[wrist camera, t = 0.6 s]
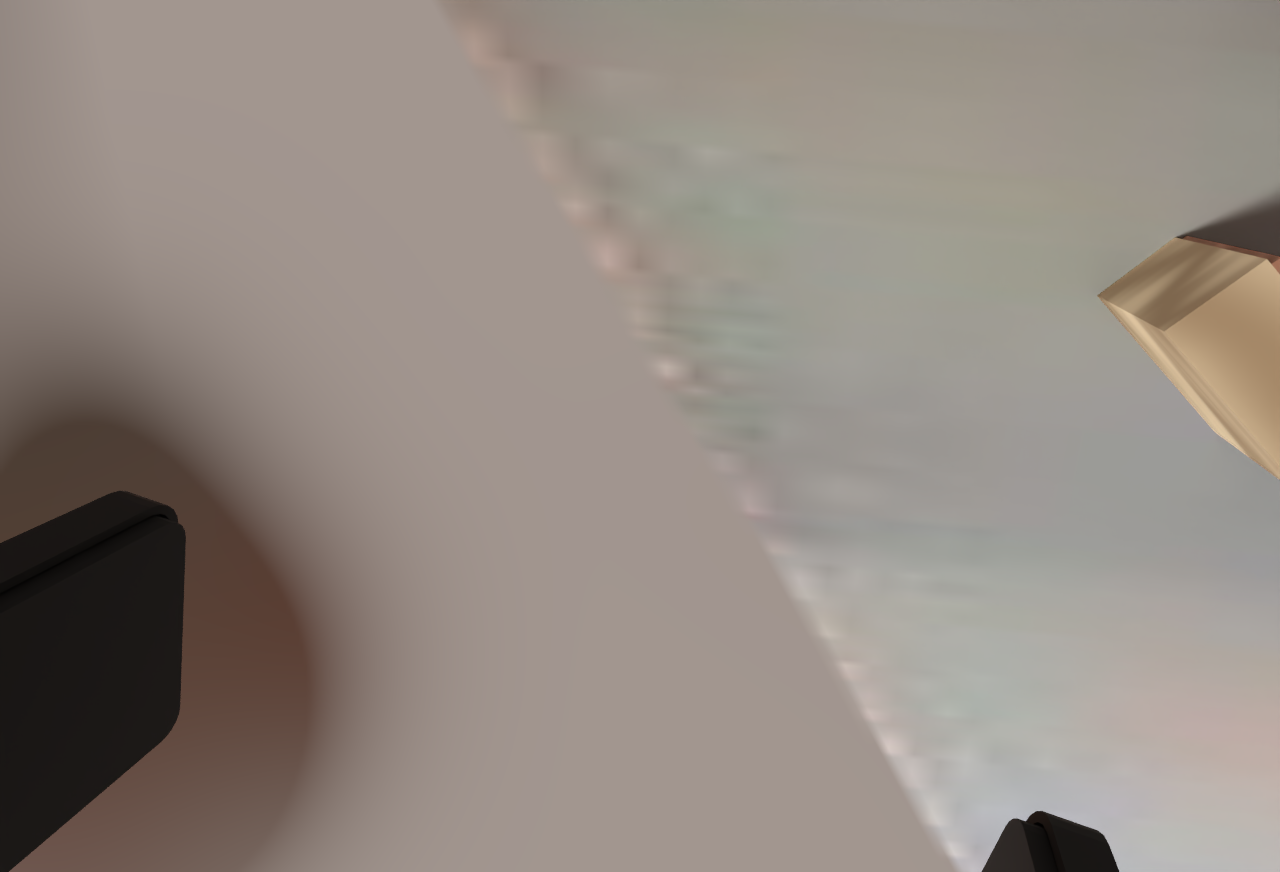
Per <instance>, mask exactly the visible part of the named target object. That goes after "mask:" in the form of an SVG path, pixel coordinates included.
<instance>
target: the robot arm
mask: <svg viewBox="0 0 1280 872" xmlns="http://www.w3.org/2000/svg"><path fill="white" fill-rule="evenodd" d="M185 542H186V536H185V530H184V529H183V526H182V525H180V524H178V519H177V515H176V513H175V511H174V509H172V508H171V507H169V506H167V505H164V504H162V503H159V502H156V501H153V500H150V499H147V498H144V497H141V496H138V495H136V494H133V493H130V492H126V491H117V492H114V493H110V494H108V495H106V496H103V497H101V498H99V499H97V500H94V501H92V502H90V503H88V504H86V505H84V506H81V507H79V508H77V509H75V510H72V511H70V512H68V513H66V514H64V515H62V516H59V517H57V518H55V519H53V520H50V521H48V522H46V523H44V524H42V525H40V526H37V527H35V528H33V529H31V530H28V531H26V532H24V533H22V534H20V535H17V536H15V537H13V538H11V539H9V540H6V541H4V542H2V543H0V872H9V871H10V870H11V869H12V868H13V867H15V866H16V865H17V864H18V863H19V862H21V861H22V860H23V859H24V858H25V857H26V856H28V855H29V854H30V853H31V852H32V851H33V850H35V849H36V848H37V847H38V846H39V845H41V844H42V843H43V842H44V841H45V840H46V839H48V838H49V837H50V836H51V835H52V834H53V833H55V832H56V831H57V830H58V829H59V828H60V827H62V826H63V825H64V824H65V823H66V822H68V821H69V820H70V819H71V818H72V817H73V816H75V815H76V814H77V813H78V812H79V811H80V810H82V809H83V808H84V807H85V806H86V805H88V804H89V803H90V802H91V801H92V800H93V799H94V798H96V797H97V796H98V795H99V794H100V793H102V792H103V791H104V790H105V789H106V788H107V787H109V786H110V785H111V784H112V783H113V782H115V781H116V780H117V779H118V778H119V777H120V776H121V775H123V774H124V773H125V772H126V771H127V770H129V769H130V768H131V767H132V766H133V765H134V764H136V763H137V762H138V761H139V760H140V759H141V758H143V757H144V756H145V755H146V754H147V753H148V752H150V751H151V750H152V749H153V748H154V747H156V746H157V745H158V744H159V743H160V742H161V741H162V740H163V739H164V738H165V737H166V736H167V735H168V734H169V732H170V731H171V729H172V728H173V726H174V724H175V722H176V720H177V717H178V715H179V710H180V691H181V662H182V632H183V602H184V572H185V571H184V570H185ZM982 872H1119V870H1118V867H1117V865H1116V862H1115V859H1114V857H1113V854H1112V852H1111V849H1110V846H1109V844H1108V842H1107V840H1106V839H1105V837H1104V835H1103V834H1101V833H1100V832H1099V831H1097V830H1094V829H1092V828H1089V827H1086V826H1083V825H1080V824H1077V823H1074V822H1072V821H1069V820H1066V819H1063V818H1060V817H1057V816H1054V815H1052V814H1049V813H1046V812H1043V811H1036V812H1034V813H1033V814H1032V815H1030V817H1029V818H1028V819H1027V821H1023V820H1020V819H1012V820H1011V821H1009V822H1008V824H1007V825H1006V827H1005V829H1004V830H1003V832H1002V834H1001V836H1000V838H999V840H998V842H997V844H996V846H995V848H994V849H993V851H992V853H991V855H990V857H989V859H988V861H987V863H986V865H985V867H984V868H983V870H982Z"/></svg>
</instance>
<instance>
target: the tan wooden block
mask: <svg viewBox="0 0 1280 872" xmlns="http://www.w3.org/2000/svg"><path fill="white" fill-rule="evenodd" d="M1097 296H1098V297H1099V298H1100V299H1101V301H1102V302H1103V303H1104V304H1105V305H1106V306H1107V308H1108V309H1109V310H1110V311H1111V312H1112V313H1113V315H1114V316H1115V317H1116V318H1117V319H1118V320H1119V322H1120V323H1121V324H1122V325H1123V326H1124V327H1125V328H1126V330H1127V331H1128V332H1129V333H1130V334H1131V335H1132V337H1133V338H1134V339H1135V340H1136V341H1137V342H1138V344H1139V345H1140V346H1141V347H1142V348H1143V349H1144V350H1145V352H1146V353H1147V354H1148V355H1149V356H1150V357H1151V359H1152V360H1153V361H1154V362H1155V363H1156V364H1157V366H1158V367H1159V368H1160V369H1161V370H1162V371H1163V373H1164V374H1165V375H1166V376H1167V377H1168V378H1169V379H1170V381H1171V382H1172V383H1173V384H1174V385H1175V386H1176V388H1177V389H1178V390H1179V391H1180V392H1181V393H1182V395H1183V396H1184V397H1185V398H1186V399H1187V400H1188V402H1189V403H1190V404H1191V405H1192V406H1193V407H1194V408H1195V410H1196V411H1197V412H1198V413H1199V414H1200V415H1201V417H1202V418H1203V419H1204V420H1205V421H1206V422H1207V424H1208V425H1209V426H1210V427H1211V428H1212V429H1213V431H1214V432H1215V433H1217V434H1218V435H1219V436H1221V437H1222V438H1224V439H1225V440H1226V441H1228V442H1229V443H1230V444H1232V445H1233V446H1234V447H1236V448H1237V449H1239V450H1240V451H1241V452H1243V453H1244V454H1245V455H1247V456H1248V457H1249V458H1251V459H1252V460H1253V461H1255V462H1256V463H1258V464H1259V465H1260V466H1262V467H1263V468H1264V469H1266V470H1267V471H1268V472H1270V473H1271V474H1273V475H1274V476H1275V477H1277V478H1278V479H1279V480H1280V256H1276V255H1271V254H1267V253H1262V252H1258V251H1253V250H1249V249H1244V248H1240V247H1235V246H1231V245H1226V244H1222V243H1217V242H1213V241H1208V240H1204V239H1199V238H1195V237H1190V236H1185V237H1184V238H1183V239H1180V238H1174V239H1172V240H1171V241H1170V242H1168V243H1167V244H1166V245H1164V246H1163V247H1162V248H1160V249H1159V250H1158V251H1156V252H1155V253H1154V254H1152V255H1151V256H1150V257H1148V258H1147V259H1146V260H1144V261H1143V262H1142V263H1140V264H1139V265H1138V266H1136V267H1135V268H1134V269H1132V270H1131V271H1130V272H1128V273H1127V274H1126V275H1124V276H1123V277H1121V278H1120V279H1119V280H1117V281H1116V282H1115V283H1113V284H1112V285H1111V286H1109V287H1108V288H1107V289H1105V290H1104V291H1103V292H1101V293H1100V294H1099V295H1097Z"/></svg>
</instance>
